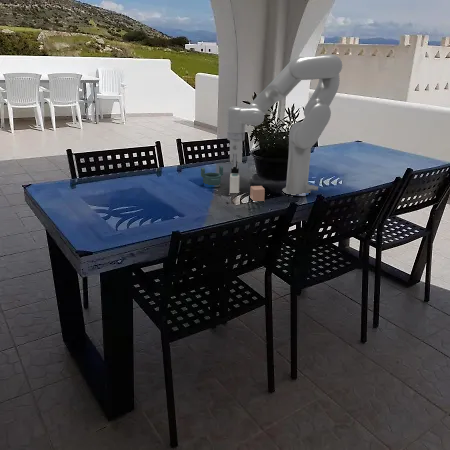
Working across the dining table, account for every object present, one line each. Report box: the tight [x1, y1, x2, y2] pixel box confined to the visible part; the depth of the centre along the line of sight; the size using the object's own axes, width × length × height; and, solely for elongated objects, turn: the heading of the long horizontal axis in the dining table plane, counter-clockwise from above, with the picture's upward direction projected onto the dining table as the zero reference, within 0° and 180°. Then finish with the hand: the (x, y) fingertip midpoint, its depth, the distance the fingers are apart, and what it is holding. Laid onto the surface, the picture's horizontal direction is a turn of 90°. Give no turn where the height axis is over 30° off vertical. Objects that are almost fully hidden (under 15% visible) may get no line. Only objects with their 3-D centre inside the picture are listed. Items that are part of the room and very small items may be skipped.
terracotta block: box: [249, 185, 266, 202], centre depth 186 cm, size 5×5×6 cm
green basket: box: [200, 165, 224, 185], centre depth 206 cm, size 9×9×9 cm
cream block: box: [229, 172, 240, 194], centre depth 193 cm, size 4×4×9 cm
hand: (234, 177), depth 195 cm, fingers closed
